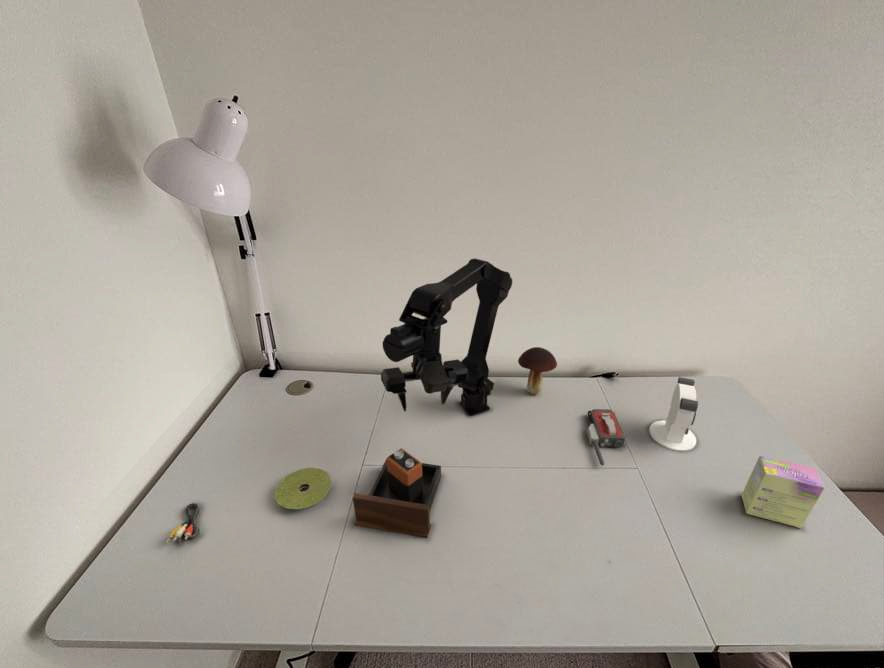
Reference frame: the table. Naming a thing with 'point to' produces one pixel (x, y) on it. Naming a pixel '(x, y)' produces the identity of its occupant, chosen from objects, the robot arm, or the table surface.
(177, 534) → the composite cable
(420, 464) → the battery
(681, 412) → the white upright stand
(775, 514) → the box
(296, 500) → the mat
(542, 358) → the decorative mushroom
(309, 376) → the table surface
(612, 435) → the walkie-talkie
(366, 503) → the wooden drawer
